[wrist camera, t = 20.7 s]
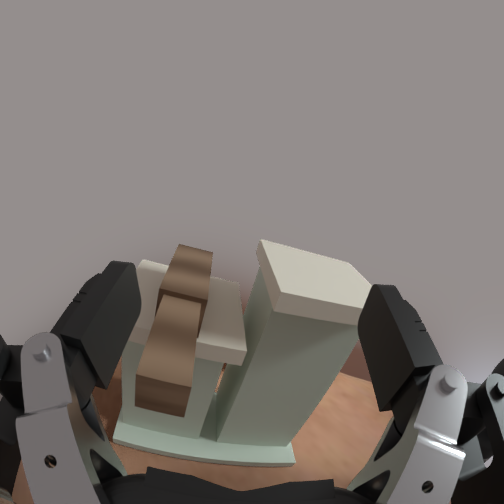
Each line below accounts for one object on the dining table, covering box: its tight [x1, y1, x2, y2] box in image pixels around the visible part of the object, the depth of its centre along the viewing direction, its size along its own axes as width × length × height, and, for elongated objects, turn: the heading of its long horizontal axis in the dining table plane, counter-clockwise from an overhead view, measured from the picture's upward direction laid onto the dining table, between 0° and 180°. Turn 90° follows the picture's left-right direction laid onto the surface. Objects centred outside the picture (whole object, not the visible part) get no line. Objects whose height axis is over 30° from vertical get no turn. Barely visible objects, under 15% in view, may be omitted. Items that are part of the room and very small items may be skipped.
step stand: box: [113, 239, 372, 467], centre depth 36 cm, size 15×29×32 cm, turn 95°
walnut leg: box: [135, 244, 213, 418], centre depth 25 cm, size 22×4×4 cm, turn 5°
